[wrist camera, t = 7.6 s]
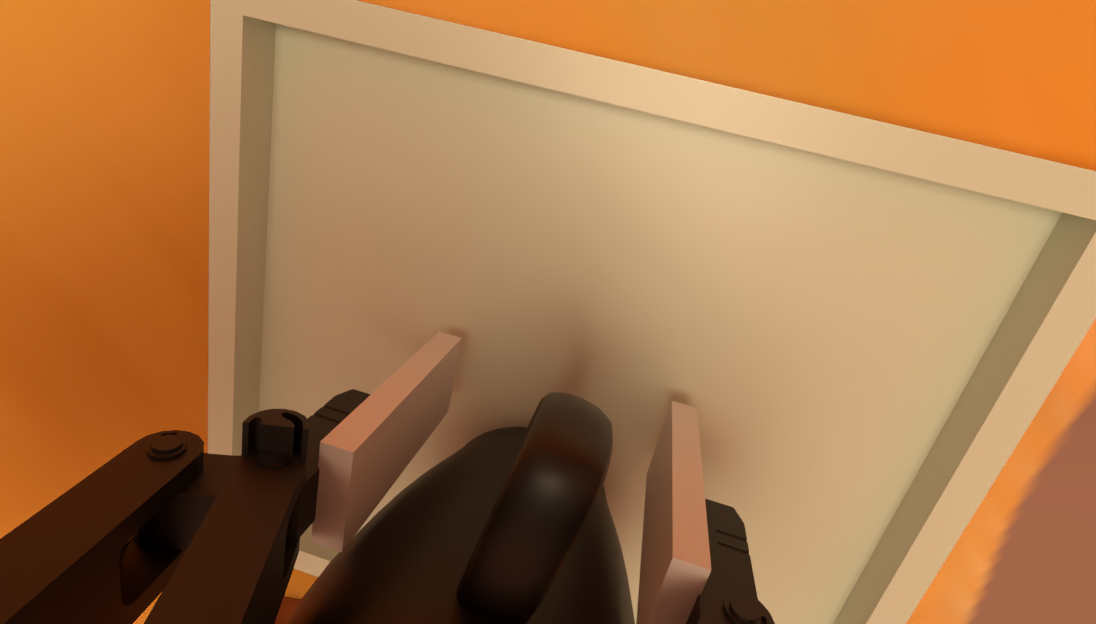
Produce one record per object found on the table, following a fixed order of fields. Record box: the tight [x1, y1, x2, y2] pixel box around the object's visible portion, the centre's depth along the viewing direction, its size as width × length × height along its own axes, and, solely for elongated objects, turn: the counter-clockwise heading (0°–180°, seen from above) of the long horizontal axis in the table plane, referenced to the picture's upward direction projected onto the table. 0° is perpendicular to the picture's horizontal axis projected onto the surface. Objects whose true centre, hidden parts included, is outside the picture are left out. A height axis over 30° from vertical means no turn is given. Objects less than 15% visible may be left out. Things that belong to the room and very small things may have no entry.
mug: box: [284, 392, 635, 624], centre depth 15 cm, size 8×12×10 cm
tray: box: [208, 0, 1096, 624], centre depth 18 cm, size 24×20×2 cm
